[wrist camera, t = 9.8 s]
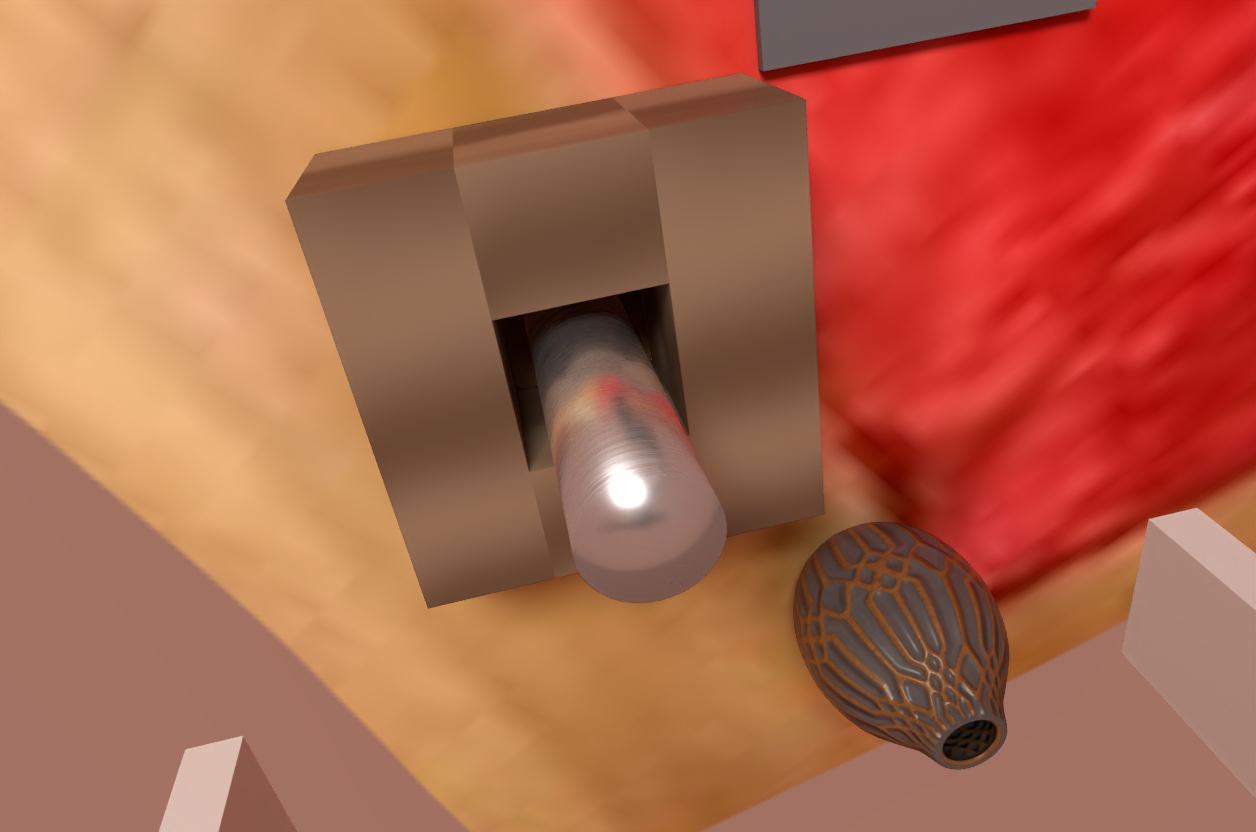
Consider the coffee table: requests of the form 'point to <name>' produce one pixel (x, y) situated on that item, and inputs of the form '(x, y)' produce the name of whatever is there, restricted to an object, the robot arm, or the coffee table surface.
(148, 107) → the coffee table surface
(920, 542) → the vase
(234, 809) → the robot arm
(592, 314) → the peg
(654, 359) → the block
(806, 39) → the mat
